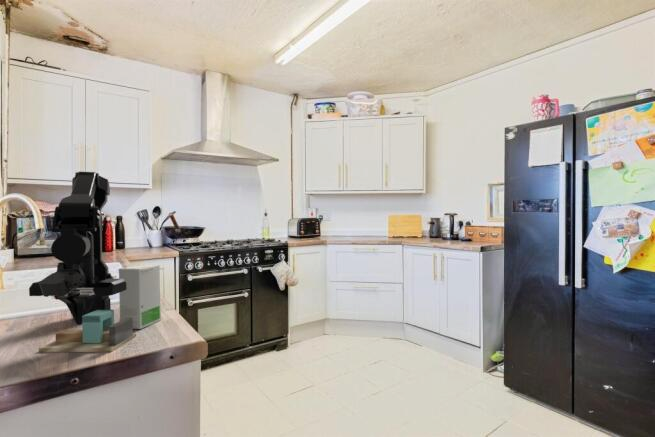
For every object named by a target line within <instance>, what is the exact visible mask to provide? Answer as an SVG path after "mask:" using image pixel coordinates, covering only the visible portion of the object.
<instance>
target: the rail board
mask: <svg viewBox="0 0 655 437" xmlns="http://www.w3.org/2000/svg"><path fill="white" fill-rule="evenodd" d="M136 337H137V333H136V332H134V329H133V317H130V318H125V319H123V320H121V321H120V320H119V321H118V322H114V324H113V325H111V326H109V330H103V342H101V343H83V334H82V329H63V330H61V331H58V332H56V333H55V340H54V341H53V340H52V342H49V343H47V344H45V345H42V346H41V347H39V348H38V353H44V352H45V353H53V352H55V353H63V352H65V353H66V352H67V353H68V352H70V353H72V352H73V353H74V352H75V353H77V352H78V353H81V352H82V353H85V352H86V353H91V352H93V353H94V352H95V353H97V352H98V353H99V352H101V353H102V352H105V353H107V352H109V353H112V352H114V351H116V349H119V348H120V347H121V346H123V345H125V344H127V343H128V342H130V341H131V340H132V339H133V340H134V338H136Z"/></svg>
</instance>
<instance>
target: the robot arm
mask: <svg viewBox="0 0 655 437" xmlns="http://www.w3.org/2000/svg"><path fill="white" fill-rule="evenodd" d="M71 180H72V183H71V193H70V195H68V196H66V197H63V198H62V199H60V202H59V203H58V205H57V206H55V208H54V214H53V219H52V220H53V221H52V226H51V227H52V228H51V233H52V234H53V233H60V236H57V238H55V239H54V240H53V242H52V244H51V247H50V250H51V254H52V256H53V257H54V258H55V259H56V260H58V261H60V262H58V263H57V265H56V268H57V269H56V271H55V272H53V273H50V274H48V276H46V277H44V278H43V279H41V280H39V281H35V282H32V283H31V285H30V286H29V288H28V293H29V294H28V295H29V297H42V296H43V297H45V298H47V297H54V299H55V300H56V301H57V300H59V301H61V302H63V303H64V304H65V305H66V306H67V308H68V310H69V312H70V314H71V317H72V318H73V320H74V323H75V325H77V326H81V325H82V316H84V315H86V314H88V313H91V312H93V311H96V310H112V306H111V298H110V296H115V295H116V294H119V292H122V291H125V290H127V289H126V282H125V280H124V279H119V278H114V277H113V276H112V274H111V273H109V272H110V271H109V266H108V265H107V264H106V263H105V261H104V260H103V248H102V247H103V246H102V245H103V243H102V242H103V241H102V239H103V237H102V236H103V235H102V231H103V230H102V209H103V208H104V207H105V205H106V204H107V203H108V196H110V194H111V193H110V189H111V187H110V181H109V179H107V178H105V177H103V176H101V175H100V174H99V173H98V172H96V171H78V172H75V176H73V177H72V179H71Z"/></svg>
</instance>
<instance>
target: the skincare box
mask: <svg viewBox="0 0 655 437" xmlns="http://www.w3.org/2000/svg"><path fill="white" fill-rule="evenodd" d="M160 271H161V270H160V265H159V264H138V265H134V266H133V265H132V266H127V267H121V268H118V279H124V280H125V282H126V289H127V290H125V291H122V292H119V293H118V294H119V321H121V320H123V319H125V318H130V317H133V330H142V329H144V328H146V327H149V326H150V325H154V324H156V323H158V322H160V321H161V320H162V318H161V317H162V315H161V309H162V307H161V276H160V275H161V274H160Z"/></svg>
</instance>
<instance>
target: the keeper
mask: <svg viewBox="0 0 655 437" xmlns="http://www.w3.org/2000/svg"><path fill="white" fill-rule="evenodd" d="M113 324H115V309H111V310H96V311H93V312H91V313H88V314H86V315H84V316H82V324H81V325H82V327H81V328H82V329H81V330H82V334H83V343H101V342H103V330H109V326H111V325H113Z"/></svg>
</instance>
